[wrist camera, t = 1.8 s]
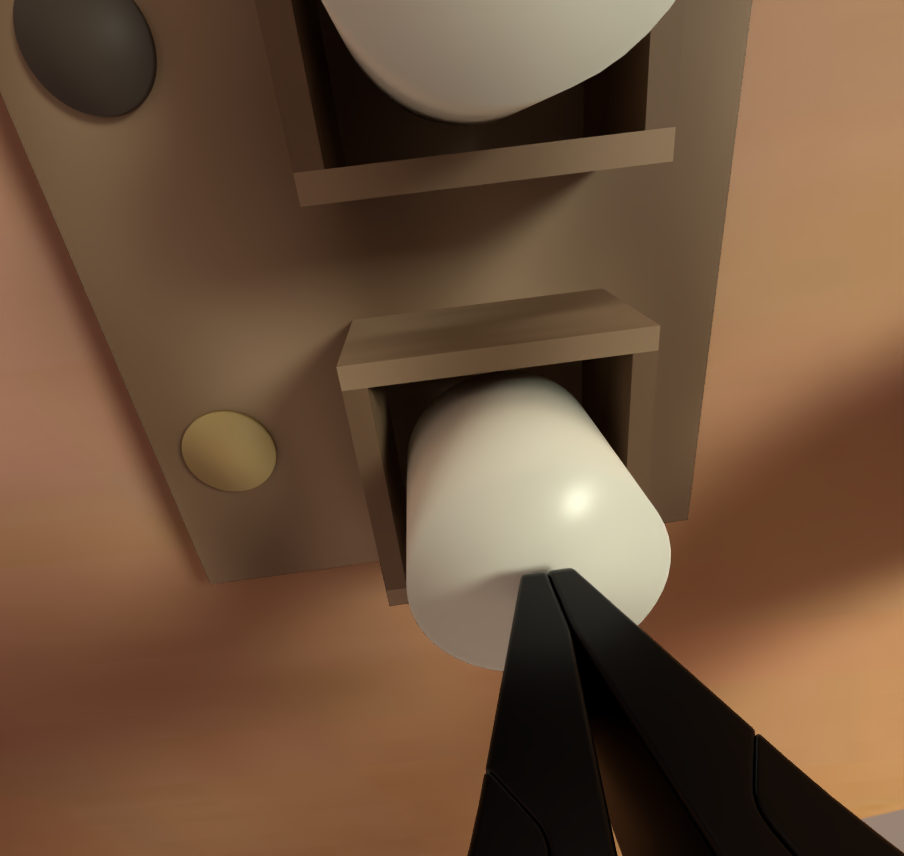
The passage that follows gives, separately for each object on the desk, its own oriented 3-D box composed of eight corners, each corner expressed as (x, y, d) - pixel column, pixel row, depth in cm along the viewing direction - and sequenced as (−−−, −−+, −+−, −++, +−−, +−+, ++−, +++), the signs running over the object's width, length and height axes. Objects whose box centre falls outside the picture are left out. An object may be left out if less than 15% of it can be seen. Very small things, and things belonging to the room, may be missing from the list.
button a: (595, 358, 11) (682, 449, 8) (592, 521, 13) (660, 653, 10) (393, 384, 11) (386, 489, 8) (420, 545, 13) (425, 687, 10)
